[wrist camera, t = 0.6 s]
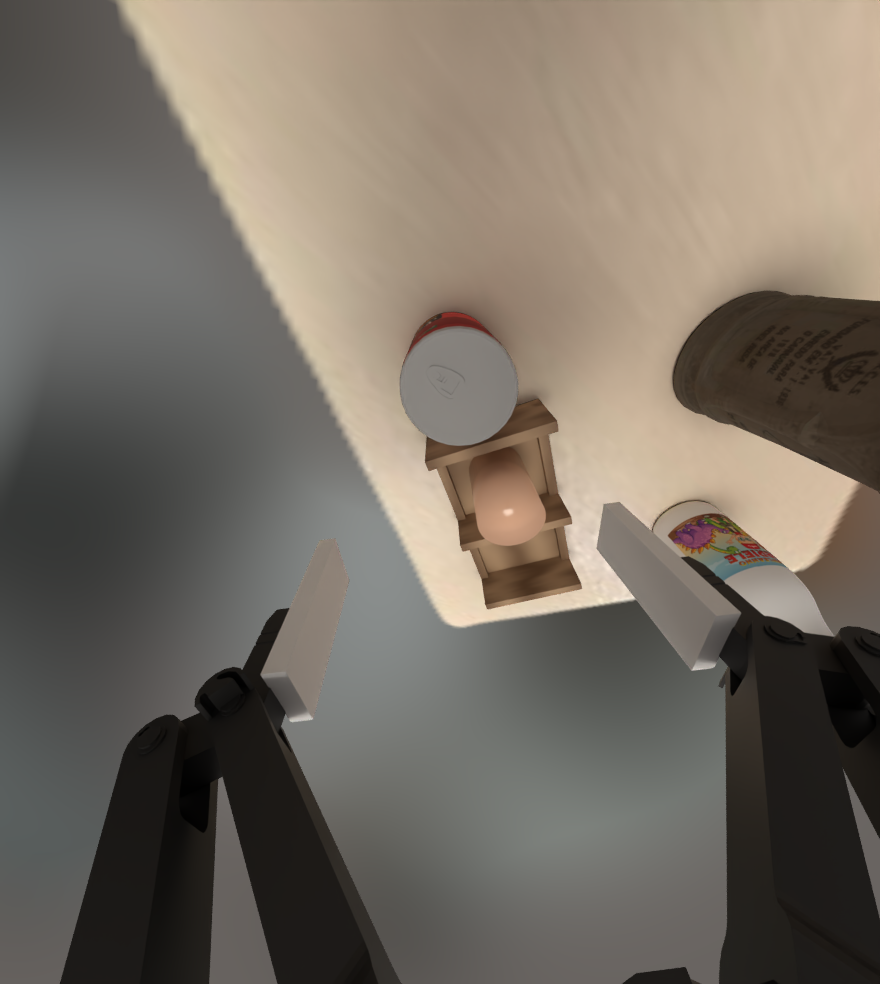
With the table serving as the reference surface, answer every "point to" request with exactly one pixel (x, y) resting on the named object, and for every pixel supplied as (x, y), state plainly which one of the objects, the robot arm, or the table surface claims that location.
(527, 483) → the peach rounded block
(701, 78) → the table surface
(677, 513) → the milk bottle
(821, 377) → the beer stein
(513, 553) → the rack
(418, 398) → the canned food
